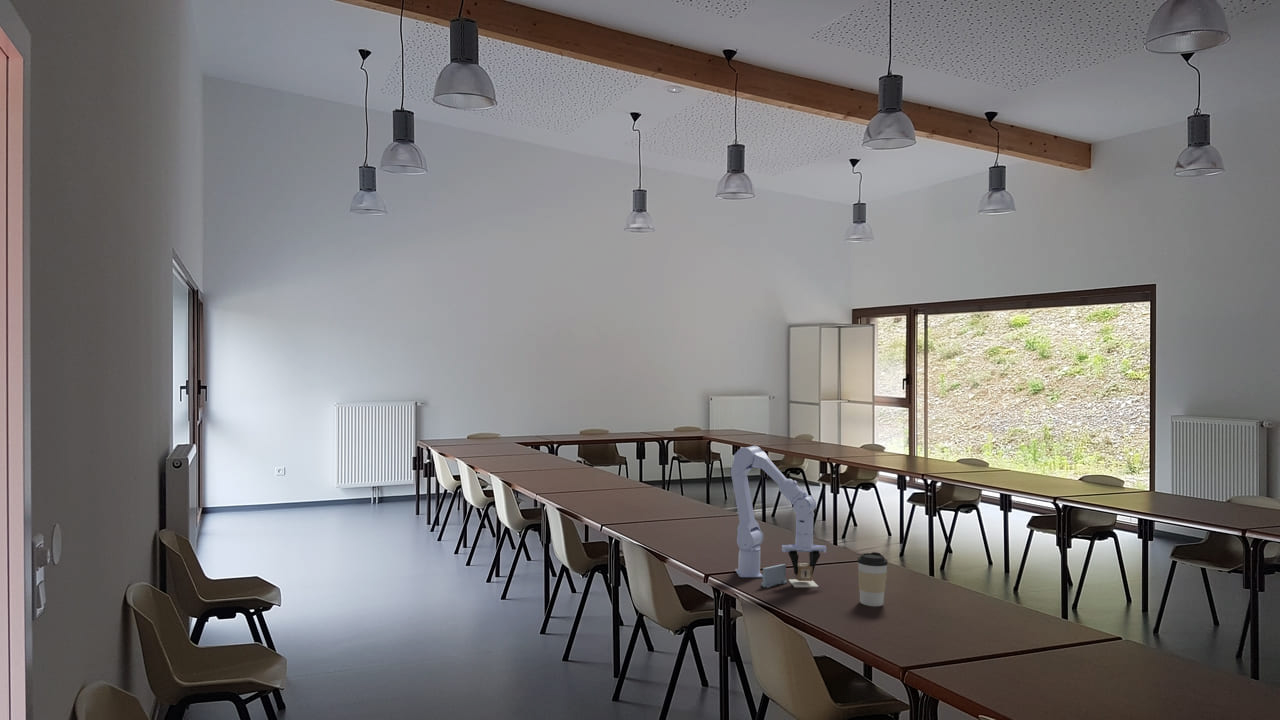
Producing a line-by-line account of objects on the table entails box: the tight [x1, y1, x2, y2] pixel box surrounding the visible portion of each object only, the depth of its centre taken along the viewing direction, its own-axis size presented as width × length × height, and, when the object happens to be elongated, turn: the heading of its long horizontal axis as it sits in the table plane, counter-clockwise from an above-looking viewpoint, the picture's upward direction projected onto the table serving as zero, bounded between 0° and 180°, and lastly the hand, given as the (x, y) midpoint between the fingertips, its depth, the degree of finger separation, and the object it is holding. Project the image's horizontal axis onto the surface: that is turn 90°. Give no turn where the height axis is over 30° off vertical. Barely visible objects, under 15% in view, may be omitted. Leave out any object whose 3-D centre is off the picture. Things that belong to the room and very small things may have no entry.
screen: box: [760, 563, 788, 589], centre depth 276 cm, size 3×10×6 cm, turn 129°
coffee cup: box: [856, 551, 889, 607], centre depth 258 cm, size 9×9×15 cm
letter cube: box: [794, 562, 813, 581], centre depth 277 cm, size 5×5×5 cm
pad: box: [788, 578, 819, 588], centre depth 278 cm, size 8×8×1 cm
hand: (803, 573), depth 278 cm, fingers closed on letter cube, 4 cm apart
